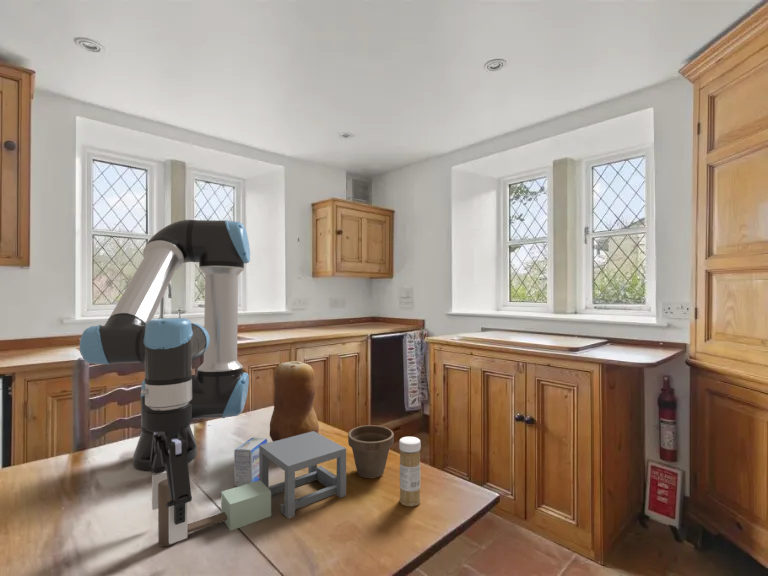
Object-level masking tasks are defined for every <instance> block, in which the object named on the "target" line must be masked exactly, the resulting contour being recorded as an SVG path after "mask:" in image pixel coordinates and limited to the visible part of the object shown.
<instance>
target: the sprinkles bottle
mask: <svg viewBox="0 0 768 576" xmlns="http://www.w3.org/2000/svg"><path fill="white" fill-rule="evenodd" d="M398 445H399V447H398V448H399V461H400V462H399V489H400V490H399V502H400V504H401V505H403V506H405V507H409V508H410V507H416V506H418V505H420V503H421V453H420V452H421V447H422V446H421V439H419V438H418V437H415V436H403V437H401V438H400V439H399V443H398Z"/></svg>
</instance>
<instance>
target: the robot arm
mask: <svg viewBox="0 0 768 576" xmlns="http://www.w3.org/2000/svg"><path fill="white" fill-rule="evenodd" d="M250 248H251V247H250V242H249V237H248V233H247V230H246V226H245V225H244V224H243V223H242V222H240V221H233V220H226V219H225V220H209V219H207V220H202V219H200V220H197V219H183V220H178V221H175V222H173V223H170V224H168V225H167V226H165V227H163V228H161V229H159V231H157V232H156V233H155V234H154V235H152V237H151V238H149V240H148V241H147V243H146V244H145V246H144V248H143V251H142V255H143V258H142V260H141V262H140V264H139V265H138V267H137V269H136V271H135V273H134V274H133V276H132V278H131V279H130V281H129V283H128V285H127V286H126V288H125V290H124V292H123V293H122V295H121V297H120V298H119V300H118V301H117V304H116V306H115V307H114V309H113V311H112V312H111V314H110V316H109V317H108V319H107V320H106V322H105V324H104V325H102V324H98V325H92V326H89V327H88V328H85V330H83V332H82V334H81V336H80V339H79V353H80V355H81V356H82V360H83V361H84V362H86V363H89V364H91V365H92V364H94V365H95V364H96V365H107V366H109V365H110V366H111V365H118V364H139V363H142V364H144V379H143V380H142V382H141V391H140V395H139V396H140V429H141V430H140V436H139V438H138V442H137V444H136V448H135V450H134V452H133V457H132V459H133V460H132V462H133V463H132V466H133V467H134V468H135V469H137V470H140V471H147V472H148V471H151V473H152V474H151V496H152V497H151V509H152V510H153V511H154V510H158V484H159V483H160V482H161V481H163V480H166V479H167V480H168V487H169V493H170V500H171V501H170V502H167V504H166V507H169V544H172V543H174V544H176V543H177V542H180V541H183V540H185V539H188V533H187V524H188V503H190V502H192V499H193V497H192V490H191V483H190V481H191V480H190V475H189V474H190V473H189V463H188V462H191V461H192V460H194V459H195V458H196V457H197V455H198V445H197V442H196V439H195V436H194V433H193V430H192V428H191V423H192V420H194V419H210V418H211V419H214V418H216V419H217V418H222V419H225V418H229V417H237V416H239V415H241V414H242V412H243V410H244V408H245V406H246V402H247V398H248V392H249V385H250V375H249V373H248V372H243V371H244V370H243V369H244V367H243V365H242V363H240V361H239V360H238V329H239V328H238V321H239V320H238V315H239V313H238V312H239V309H238V308H239V307H238V306H239V275H240V274H241V273H242V272H243V271H244V269H245V264H249V263H250V262H251V251H250V250H251V249H250ZM184 263H198V264H199V266H198V268H199V270H200V271H201V272H202V273H203V274H204V317H203V318H204V320H203V321H204V322H203V324H204V325H203V326H202V324H201V325H200V324H198V323H193V322H192V320H190V319H188V318H184V317H169V318H155V319H154V317H155V314H156V312H157V310H158V309H159V305H160V303H161V301H162V299H163V298H164V295H165V293H166V292H167V291H166V290H167V289H168V286H169V284H170V282H171V280H172V278H173V276H174V274H175V272H176V271H178V270H179V269H180V268H181V267H182V266H183V264H184ZM202 356H203V363H202V364H201V365H200V366H198V368H197V372H196V373H197V374H192V368H193V367H192V363H193V361H194V360H196V359H197V360H198V359H199V358H200V357H202ZM172 545H173V544H172Z"/></svg>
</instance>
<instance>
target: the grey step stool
mask: <svg viewBox="0 0 768 576" xmlns="http://www.w3.org/2000/svg"><path fill="white" fill-rule="evenodd" d="M331 460H336V474H334V473H333V472H332V471H330V470H328V469H326V468H325V467H324V466H322V465H319V464H324V463H326V462H329V461H331ZM269 461H271V462H272V463H274V464H275V465H276V466H277V467H279V468H280V469H281V470H283V471H284V481H282V482H279V483H276V484H272V485H270V486H269V474H270V473H269V468H270V467H269V465H270V463H269ZM317 465H319V466H317ZM306 468H307V469H308V471H307V472H308V473H306V474H302V475H300V476H297V477H296V472H297V471H301V470H304V469H306ZM259 480H261V481H262V482H263V483H264V485H265V486H266V487H267V488H268V489H269V490H270V491H271V496H273V495H277V494H279V493H282V492H284V502H283V503H281V504H280V513H281V514H282V515H284V516H285V518H287V520H288V519H291V518H295V517H296V510H298V509H301V508H303V507H306V506H308V505H311V504H313V503H316V502H318V501H320V500H321V501H322V500H324V499H326V498H329V497H331V496H333V495H336V496H337V497H338V498H340V499H342V498H344V497H346V496H347V448H346V447H345V446H343V445H341V444H339V443H337V442H336V441H333V440H332V439H330V438H328V437H325V436H323V435H322V434H321V433H319V432H318V433H317V432H315V431H312V432H308V433H304V434H300V435H297V436H293V437H289V438H285V439H281V440H277V441H270V442H267V443H266V444H262V445H259ZM315 481H317V482H319V483H320V484H322V485H323V486H325V487H324V488H322V489H319V490H316V491H314V492H311V493H308V494H306V495H305V494H304V495H302V496H299V497H297V498H296V488H297V487H299V486H302V485H305V484H308V483H311V482H315Z"/></svg>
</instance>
